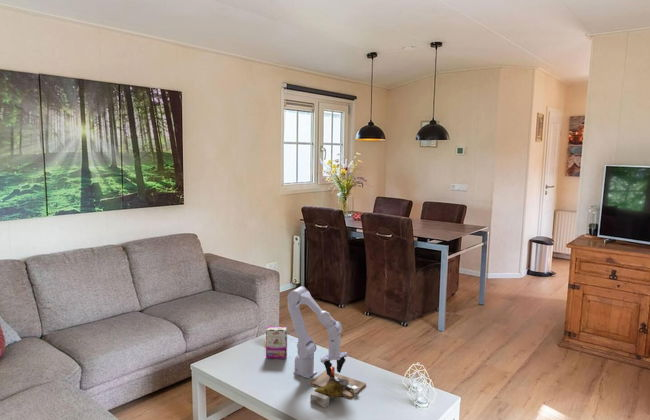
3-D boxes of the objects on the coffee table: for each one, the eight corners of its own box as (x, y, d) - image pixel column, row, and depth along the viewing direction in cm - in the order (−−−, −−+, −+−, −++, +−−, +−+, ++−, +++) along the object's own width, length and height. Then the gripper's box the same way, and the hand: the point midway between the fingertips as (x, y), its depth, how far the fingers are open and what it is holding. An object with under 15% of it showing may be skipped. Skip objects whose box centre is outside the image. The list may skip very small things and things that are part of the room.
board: (293, 396, 211) (293, 387, 211) (325, 372, 235) (325, 364, 234) (336, 412, 199) (336, 403, 199) (365, 385, 223) (366, 377, 222)
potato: (321, 390, 217) (321, 374, 216) (345, 398, 211) (345, 382, 210) (312, 398, 210) (312, 382, 209) (336, 406, 203) (337, 389, 202)
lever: (359, 390, 215) (359, 379, 214) (352, 393, 212) (353, 382, 211) (332, 375, 229) (332, 365, 228) (325, 378, 226) (326, 367, 225)
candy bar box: (287, 355, 253) (287, 326, 251) (286, 359, 248) (286, 330, 246) (267, 354, 254) (267, 326, 252) (265, 358, 249) (265, 329, 247)
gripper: (326, 353, 218) (325, 380, 219) (351, 347, 225) (350, 373, 227) (318, 347, 224) (317, 374, 225) (343, 341, 231) (342, 367, 233)
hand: (333, 373), depth 227 cm, fingers open, 5 cm apart
